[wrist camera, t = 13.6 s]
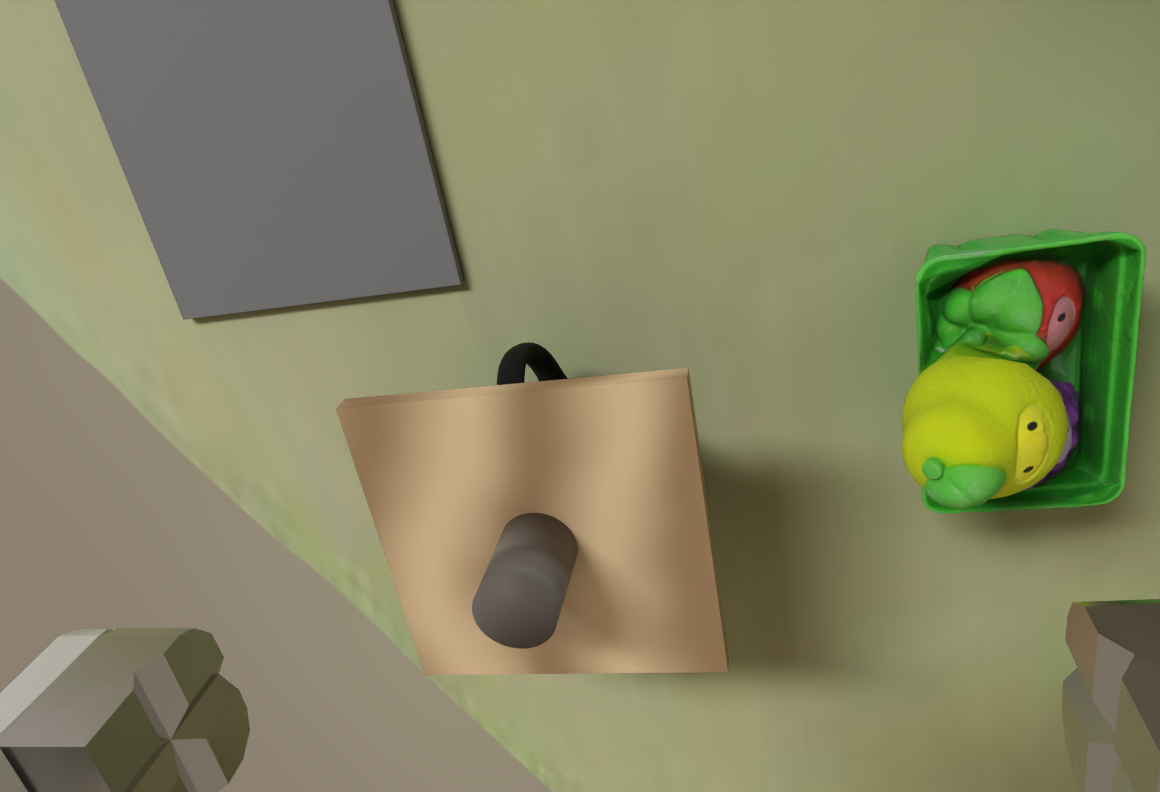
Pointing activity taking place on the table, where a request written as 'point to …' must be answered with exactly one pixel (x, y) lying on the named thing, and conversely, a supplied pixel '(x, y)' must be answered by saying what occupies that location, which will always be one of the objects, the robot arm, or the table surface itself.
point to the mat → (269, 147)
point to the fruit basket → (1024, 371)
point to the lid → (546, 524)
